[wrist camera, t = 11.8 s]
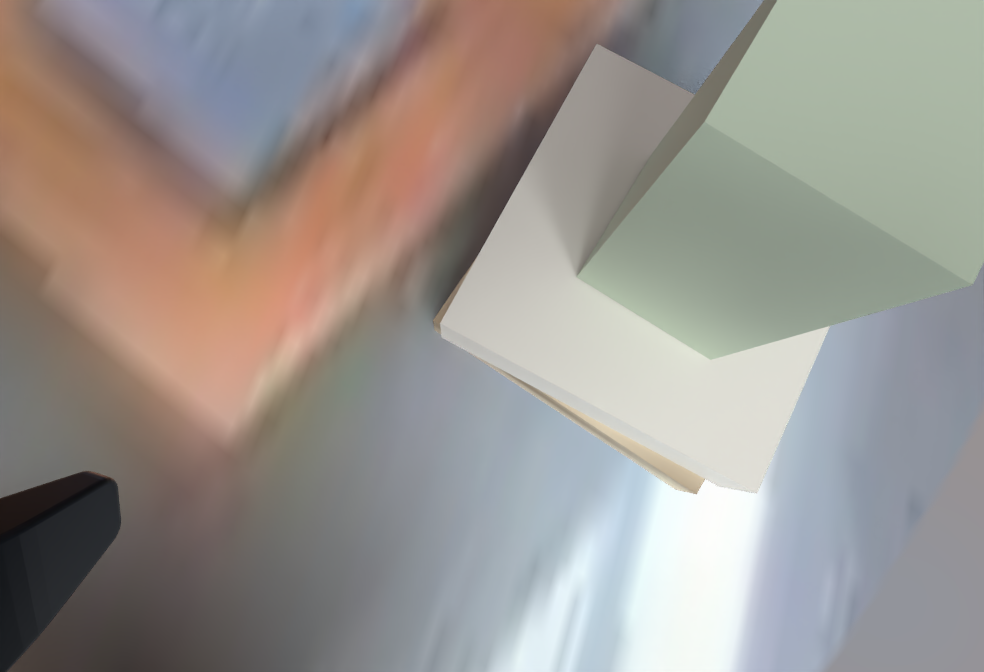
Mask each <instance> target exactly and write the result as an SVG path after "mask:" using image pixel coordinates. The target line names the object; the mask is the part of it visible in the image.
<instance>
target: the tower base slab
mask: <svg viewBox="0 0 984 672" xmlns="http://www.w3.org/2000/svg"><path fill="white" fill-rule="evenodd" d="M476 258H477V257H476ZM475 260H476V259H475ZM475 260H474V262H475ZM474 262H473V263H474ZM473 263H472V265H473ZM472 265H471V266H470V267H469V269H468V270H467V272H466V273H465V275H464V276H463V278H462V279H461V280H460V282H459V283H458V285H457V286H456V288H455V289H454V291H453V292H452V293H451V295H450V296H449V298H448V299H447V301H446V302H445V304H444V305H443V306H442V308H441V309H440V311H439V312H438V314H437V315H436V317H435V318H434V319H433V322H434V329H435V331H437V332H438V333H440V334H441V328H440V322H441V321H442V319H443V317H444V315H445V313H446V312H447V310H448V308H449V306H450V305H451V303H452V301H453V299H454V297H455V296H456V294H457V292H458V290H459V288H460V287H461V285H462V283H463V281H464V280H465V278H466V276H467V274H468V272H469V271H470V269H471V267H472ZM467 352H468V351H467ZM469 353H470V352H469ZM470 354H472V353H470ZM472 355H473V354H472ZM473 356H475V355H473ZM475 357H476V358H478V359H479V360H481V361H482V362H484V363H485V364H487V365H488V366H490V367H491V368H493V369H494V370H496V371H497V372H499V373H500V374H502V375H503V376H505V377H506V378H508V379H509V380H511V381H512V382H514V383H515V384H517V385H518V386H520V387H521V388H523V389H524V390H526V391H527V392H529V393H531V394H532V395H534V396H535V397H537V398H538V399H540V400H541V401H543V402H544V403H546V404H547V405H549V406H550V407H552V408H553V409H555V410H556V411H558V412H559V413H561V414H562V415H564V416H565V417H567V418H568V419H570V420H571V421H573V422H574V423H576V424H577V425H579V426H580V427H582V428H583V429H585V430H586V431H588V432H589V433H591V434H592V435H594V436H595V437H597V438H598V439H600V440H601V441H603V442H604V443H606V444H608V445H609V446H611V447H612V448H614V449H615V450H617V451H618V452H620V453H621V454H623V455H624V456H626V457H627V458H629V459H630V460H632V461H633V462H635V463H636V464H638V465H639V466H641V467H642V468H644V469H645V470H647V471H648V472H650V473H651V474H653V475H654V476H656V477H657V478H659V479H660V480H662V481H663V482H665V483H666V484H668V485H669V486H671V487H672V488H674V489H675V490H680V491H684V492H689V493H693V494H697V492H698V491H699V489H700V487H701V485H702V484H703V482H704V480H705V479H704V478H702V477H700V476H698V475H697V474H695V473H693V472H691V471H689V470H687V469H685V468H684V467H682V466H680V465H678V464H676V463H674V462H672V461H671V460H669V459H667V458H665V457H663V456H661V455H659V454H658V453H656V452H654V451H652V450H650V449H648V448H646V447H645V446H643V445H641V444H639V443H637V442H635V441H633V440H632V439H630V438H628V437H626V436H624V435H622V434H620V433H619V432H617V431H615V430H613V429H611V428H609V427H607V426H605V425H604V424H602V423H600V422H598V421H596V420H594V419H592V418H591V417H589V416H587V415H585V414H583V413H581V412H579V411H578V410H576V409H574V408H572V407H570V406H568V405H566V404H565V403H563V402H561V401H559V400H557V399H555V398H553V397H552V396H550V395H548V394H546V393H544V392H542V391H540V390H539V389H537V388H535V387H533V386H531V385H529V384H527V383H525V382H524V381H522V380H520V379H518V378H516V377H514V376H512V375H511V374H509V373H507V372H505V371H503V370H501V369H499V368H498V367H496V366H494V365H492V364H490V363H488V362H486V361H485V360H483V359H481V358H479V357H477V356H475Z"/></svg>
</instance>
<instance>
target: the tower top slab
mask: <svg viewBox="0 0 984 672" xmlns="http://www.w3.org/2000/svg"><path fill="white" fill-rule="evenodd" d="M694 96H695V95H694V94H692V93H691V92H689V91H687V90H685V89H683V88H681V87H679V86H677V85H675V84H673V83H671V82H669V81H668V80H666V79H664V78H662V77H660V76H658V75H656V74H654V73H652V72H650V71H648V70H646V69H645V68H643V67H641V66H639V65H637V64H635V63H633V62H631V61H629V60H627V59H625V58H623V57H622V56H620V55H618V54H616V53H614V52H612V51H610V50H608V49H606V48H604V47H602V46H600V45H599V44H596V46H595V48H594V49H593V51H592V53H591V55H590V56H589V58H588V60H587V62H586V64H585V65H584V67H583V69H582V71H581V72H580V74H579V76H578V78H577V80H576V81H575V83H574V85H573V87H572V89H571V90H570V92H569V94H568V96H567V97H566V99H565V101H564V103H563V105H562V106H561V108H560V110H559V112H558V114H557V115H556V117H555V119H554V121H553V122H552V124H551V126H550V128H549V130H548V131H547V133H546V135H545V137H544V139H543V140H542V142H541V144H540V146H539V147H538V149H537V151H536V153H535V155H534V156H533V158H532V160H531V162H530V164H529V165H528V167H527V169H526V171H525V172H524V174H523V176H522V178H521V180H520V181H519V183H518V185H517V187H516V188H515V190H514V192H513V194H512V196H511V197H510V199H509V201H508V203H507V205H506V206H505V208H504V210H503V212H502V213H501V215H500V217H499V219H498V221H497V222H496V224H495V226H494V228H493V230H492V231H491V233H490V235H489V237H488V238H487V240H486V242H485V244H484V246H483V247H482V249H481V251H480V253H479V255H478V256H477V258H476V260H475V262H474V263H473V265H472V267H471V269H470V271H469V272H468V274H467V276H466V278H465V280H464V281H463V283H462V285H461V287H460V288H459V290H458V292H457V294H456V296H455V297H454V299H453V301H452V303H451V305H450V306H449V308H448V310H447V312H446V313H445V315H444V317H443V319H442V321H441V322H440V328H441V336H442V338H444V339H445V340H447V341H449V342H451V343H453V344H455V345H457V346H458V347H460V348H462V349H464V350H466V351H468V352H470V353H472V354H473V355H475V356H477V357H479V358H481V359H483V360H485V361H486V362H488V363H490V364H492V365H494V366H496V367H498V368H499V369H501V370H503V371H505V372H507V373H509V374H511V375H512V376H514V377H516V378H518V379H520V380H522V381H524V382H525V383H527V384H529V385H531V386H533V387H535V388H537V389H539V390H540V391H542V392H544V393H546V394H548V395H550V396H552V397H553V398H555V399H557V400H559V401H561V402H563V403H565V404H566V405H568V406H570V407H572V408H574V409H576V410H578V411H579V412H581V413H583V414H585V415H587V416H589V417H591V418H592V419H594V420H596V421H598V422H600V423H602V424H604V425H605V426H607V427H609V428H611V429H613V430H615V431H617V432H619V433H620V434H622V435H624V436H626V437H628V438H630V439H632V440H633V441H635V442H637V443H639V444H641V445H643V446H645V447H646V448H648V449H650V450H652V451H654V452H656V453H658V454H659V455H661V456H663V457H665V458H667V459H669V460H671V461H672V462H674V463H676V464H678V465H680V466H682V467H684V468H685V469H687V470H689V471H691V472H693V473H695V474H697V475H698V476H700V477H702V478H704V479H706V480H708V481H710V482H711V483H713V484H715V485H717V486H719V487H724V488H729V489H735V490H740V491H746V492H751V493H757V492H758V490H759V488H760V486H761V483H762V481H763V479H764V476H765V474H766V472H767V469H768V467H769V465H770V463H771V460H772V458H773V456H774V453H775V451H776V449H777V446H778V444H779V442H780V440H781V437H782V435H783V433H784V430H785V428H786V426H787V424H788V421H789V419H790V417H791V414H792V412H793V410H794V407H795V405H796V403H797V401H798V398H799V396H800V394H801V391H802V389H803V387H804V385H805V382H806V380H807V378H808V375H809V373H810V371H811V368H812V366H813V364H814V362H815V359H816V357H817V355H818V352H819V350H820V348H821V346H822V343H823V341H824V339H825V336H826V334H827V332H828V329H829V327H830V326H828V327H824V328H821V329H817V330H814V331H810V332H807V333H803V334H800V335H796V336H793V337H789V338H786V339H782V340H779V341H775V342H772V343H768V344H765V345H761V346H758V347H754V348H751V349H747V350H744V351H740V352H737V353H733V354H730V355H726V356H723V357H719V358H716V359H712V360H710V359H708V358H707V357H705V356H703V355H702V354H700V353H699V352H697V351H695V350H694V349H692V348H690V347H689V346H687V345H686V344H684V343H682V342H681V341H679V340H677V339H676V338H674V337H673V336H671V335H669V334H668V333H666V332H665V331H663V330H661V329H660V328H658V327H656V326H655V325H653V324H652V323H650V322H648V321H647V320H645V319H643V318H642V317H640V316H639V315H637V314H635V313H634V312H632V311H631V310H629V309H627V308H626V307H624V306H622V305H621V304H619V303H618V302H616V301H614V300H613V299H611V298H609V297H608V296H606V295H605V294H603V293H601V292H600V291H598V290H597V289H595V288H593V287H592V286H590V285H588V284H587V283H585V282H584V281H582V280H580V279H579V278H577V275H578V274H579V272H580V270H581V269H582V267H583V266H584V264H585V262H586V261H587V259H588V257H589V256H590V254H591V252H592V251H593V249H594V248H595V246H596V244H597V243H598V241H599V239H600V238H601V236H602V234H603V233H604V231H605V230H606V228H607V226H608V225H609V223H610V221H611V220H612V218H613V217H614V215H615V213H616V212H617V210H618V208H619V207H620V205H621V203H622V202H623V200H624V199H625V197H626V195H627V194H628V192H629V190H630V189H631V187H632V185H633V184H634V182H635V181H636V179H637V177H638V176H639V174H640V172H641V171H642V169H643V167H644V166H645V164H646V163H647V161H648V159H649V158H650V156H651V154H652V153H653V152H654V150H655V149H656V147H657V146H658V145H659V143H660V142H661V141H662V139H663V138H664V137H665V135H666V134H667V132H668V131H669V130H670V128H671V127H672V126H673V124H674V123H675V122H676V120H677V119H678V117H679V116H680V115H681V113H682V112H683V111H684V109H685V108H686V106H687V105H688V104H689V102H690V101H691V100H692V98H693V97H694Z"/></svg>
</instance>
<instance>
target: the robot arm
mask: <svg viewBox="0 0 984 672" xmlns="http://www.w3.org/2000/svg"><path fill="white" fill-rule="evenodd" d="M120 525H121V514H120V504H119V494H118V486H117V483H116V482H115V480H114V479H112V478H110V477H107V476H104V475H101V474H98V473H95V472H91V471H84V472H80V473H77V474H74V475H70V476H67V477H64V478H61V479H58V480H55V481H52V482H49V483H46V484H43V485H40V486H37V487H34V488H31V489H28V490H24V491H21V492H18V493H15V494H12V495H9V496H6V497H3V498H0V672H7V671H8V670H9V669H10V668H11V666H12V665H13V664H14V663H15V662H16V661H17V660H18V659H19V658H20V657H21V656H22V655H23V653H24V652H25V651H26V650H27V649H28V648H29V647H30V646H31V644H32V643H33V642H34V641H35V640H36V639H37V638H38V637H39V635H40V634H41V633H42V632H43V630H44V629H45V628H46V627H47V626H48V624H49V623H50V622H51V621H52V619H53V618H54V617H55V616H56V614H57V613H58V612H59V610H60V609H61V608H62V607H63V605H64V604H65V603H66V601H67V600H68V599H69V597H70V596H71V595H72V594H73V592H74V591H75V590H76V588H77V587H78V586H79V585H80V583H81V582H82V581H83V579H84V578H85V577H86V575H87V574H88V573H89V572H90V570H91V569H92V568H93V566H94V565H95V564H96V563H97V561H98V560H99V559H100V557H101V556H102V555H103V553H104V552H105V551H106V550H107V548H108V547H109V546H110V544H111V543H112V542H113V540H114V539H115V537H116V536H117V534H118V532H119V529H120Z"/></svg>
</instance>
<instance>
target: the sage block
mask: <svg viewBox="0 0 984 672" xmlns="http://www.w3.org/2000/svg"><path fill="white" fill-rule="evenodd" d="M983 262H984V0H764V1H763V3H762V4H761V5H760V7H759V8H758V9H757V11H756V12H755V14H754V15H753V16H752V18H751V19H750V20H749V22H748V23H747V24H746V26H745V27H744V29H743V30H742V31H741V33H740V34H739V35H738V37H737V38H736V40H735V41H734V42H733V44H732V45H731V46H730V48H729V49H728V50H727V52H726V53H725V55H724V56H723V57H722V59H721V60H720V61H719V63H718V64H717V65H716V67H715V68H714V70H713V71H712V72H711V74H710V75H709V76H708V78H707V79H706V81H705V82H704V83H703V85H702V86H701V87H700V89H699V90H698V91H697V93H696V94H695V96H694V97H693V98H692V100H691V101H690V102H689V104H688V105H687V106H686V108H685V109H684V111H683V112H682V113H681V115H680V116H679V117H678V119H677V120H676V122H675V123H674V124H673V126H672V127H671V128H670V130H669V131H668V132H667V134H666V135H665V137H664V138H663V139H662V141H661V142H660V143H659V145H658V146H657V147H656V149H655V150H654V152H653V153H652V154H651V156H650V158H649V159H648V161H647V163H646V164H645V166H644V167H643V169H642V171H641V172H640V174H639V176H638V177H637V179H636V181H635V182H634V184H633V185H632V187H631V189H630V190H629V192H628V194H627V195H626V197H625V199H624V200H623V202H622V203H621V205H620V207H619V208H618V210H617V212H616V213H615V215H614V217H613V218H612V220H611V221H610V223H609V225H608V226H607V228H606V230H605V231H604V233H603V234H602V236H601V238H600V239H599V241H598V243H597V244H596V246H595V248H594V249H593V251H592V252H591V254H590V256H589V257H588V259H587V261H586V262H585V264H584V266H583V267H582V269H581V270H580V272H579V274H578V275H577V278H579V279H580V280H582V281H584V282H585V283H587V284H588V285H590V286H592V287H593V288H595V289H597V290H598V291H600V292H601V293H603V294H605V295H606V296H608V297H609V298H611V299H613V300H614V301H616V302H618V303H619V304H621V305H622V306H624V307H626V308H627V309H629V310H631V311H632V312H634V313H635V314H637V315H639V316H640V317H642V318H643V319H645V320H647V321H648V322H650V323H652V324H653V325H655V326H656V327H658V328H660V329H661V330H663V331H665V332H666V333H668V334H669V335H671V336H673V337H674V338H676V339H677V340H679V341H681V342H682V343H684V344H686V345H687V346H689V347H690V348H692V349H694V350H695V351H697V352H699V353H700V354H702V355H703V356H705V357H707V358H708V359H710V360H712V359H716V358H719V357H723V356H726V355H730V354H733V353H737V352H740V351H744V350H747V349H751V348H754V347H758V346H761V345H765V344H768V343H772V342H775V341H779V340H782V339H786V338H789V337H793V336H796V335H800V334H803V333H807V332H810V331H814V330H817V329H821V328H824V327H828V326H831V325H835V324H838V323H842V322H845V321H849V320H852V319H856V318H859V317H863V316H866V315H870V314H873V313H877V312H880V311H884V310H887V309H891V308H894V307H898V306H901V305H905V304H908V303H912V302H915V301H919V300H922V299H925V298H929V297H932V296H936V295H939V294H943V293H946V292H950V291H953V290H957V289H960V288H964V287H967V286H971V285H973V283H974V281H975V279H976V277H977V275H978V273H979V271H980V269H981V267H982V264H983Z"/></svg>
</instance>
